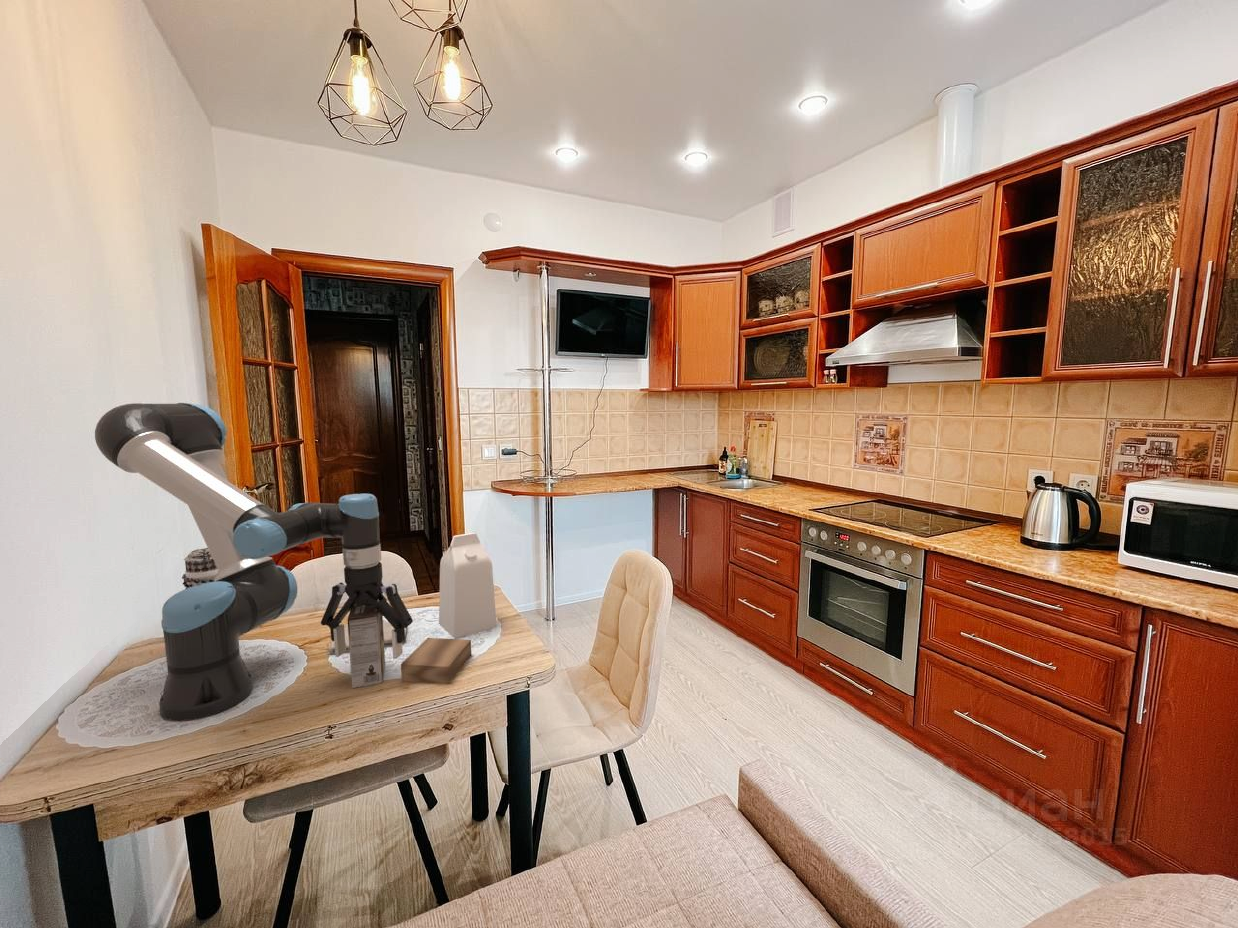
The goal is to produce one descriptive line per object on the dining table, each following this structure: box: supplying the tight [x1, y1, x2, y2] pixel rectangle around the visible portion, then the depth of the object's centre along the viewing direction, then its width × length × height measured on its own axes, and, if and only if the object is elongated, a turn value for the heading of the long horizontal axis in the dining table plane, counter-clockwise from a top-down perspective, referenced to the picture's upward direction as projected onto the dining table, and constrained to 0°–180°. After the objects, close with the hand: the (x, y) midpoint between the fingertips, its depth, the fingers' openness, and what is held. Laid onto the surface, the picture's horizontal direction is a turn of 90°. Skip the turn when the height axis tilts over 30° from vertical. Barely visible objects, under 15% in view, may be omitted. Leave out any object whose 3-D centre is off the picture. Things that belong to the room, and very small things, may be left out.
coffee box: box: [347, 600, 386, 689], centre depth 115 cm, size 9×6×16 cm
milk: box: [438, 532, 498, 639], centre depth 141 cm, size 12×12×26 cm
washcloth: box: [328, 620, 408, 656], centre depth 133 cm, size 12×18×3 cm, turn 110°
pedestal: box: [400, 637, 472, 685], centre depth 119 cm, size 11×13×4 cm
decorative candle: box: [181, 547, 218, 589], centre depth 128 cm, size 9×9×25 cm
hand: (369, 655), depth 115 cm, fingers open, 13 cm apart
